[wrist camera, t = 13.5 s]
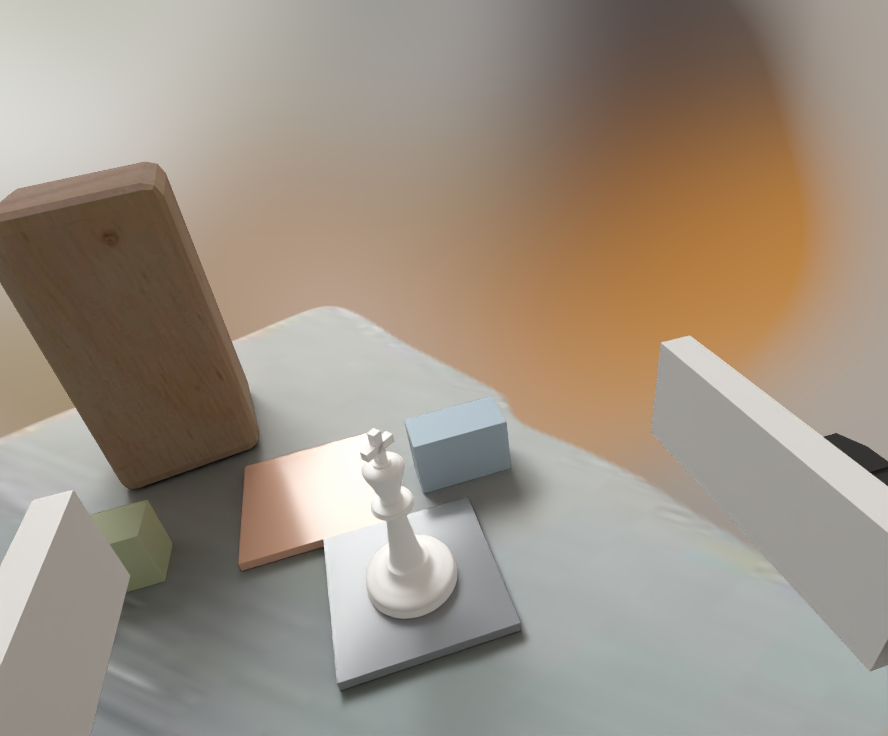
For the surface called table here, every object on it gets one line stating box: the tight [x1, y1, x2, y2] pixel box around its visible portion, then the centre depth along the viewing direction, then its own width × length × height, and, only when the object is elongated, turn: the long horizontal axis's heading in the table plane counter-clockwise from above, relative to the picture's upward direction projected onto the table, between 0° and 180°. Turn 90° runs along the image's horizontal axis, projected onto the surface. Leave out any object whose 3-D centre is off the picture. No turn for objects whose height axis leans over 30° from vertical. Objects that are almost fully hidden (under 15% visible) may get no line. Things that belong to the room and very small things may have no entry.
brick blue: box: [404, 396, 511, 493], centre depth 37 cm, size 6×3×4 cm, turn 105°
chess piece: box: [360, 428, 457, 619], centre depth 28 cm, size 5×5×10 cm
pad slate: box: [323, 497, 521, 690], centre depth 31 cm, size 9×9×1 cm
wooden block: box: [0, 162, 259, 489], centre depth 40 cm, size 10×10×20 cm
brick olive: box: [90, 499, 173, 592], centre depth 33 cm, size 6×3×4 cm, turn 105°
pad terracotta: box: [238, 433, 384, 571], centre depth 38 cm, size 9×9×1 cm
